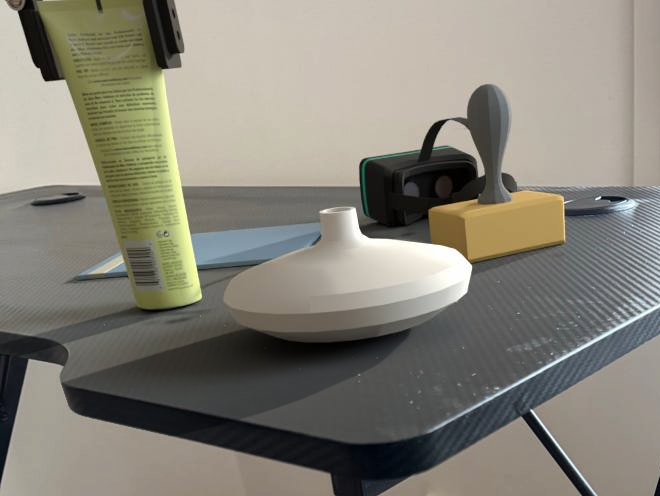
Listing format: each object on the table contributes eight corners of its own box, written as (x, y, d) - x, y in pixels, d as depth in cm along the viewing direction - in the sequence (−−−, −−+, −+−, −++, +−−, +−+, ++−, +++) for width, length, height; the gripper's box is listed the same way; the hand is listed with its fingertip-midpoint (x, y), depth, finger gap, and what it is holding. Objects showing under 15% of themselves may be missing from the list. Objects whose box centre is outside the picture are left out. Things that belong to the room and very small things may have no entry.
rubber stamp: (465, 265, 74) (449, 90, 67) (431, 256, 78) (413, 91, 71) (567, 243, 77) (562, 76, 71) (529, 235, 82) (521, 77, 75)
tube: (181, 292, 74) (108, -2, 64) (223, 296, 72) (154, -10, 61) (123, 310, 71) (35, 1, 60) (165, 314, 68) (80, -7, 58)
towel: (77, 280, 83) (76, 275, 83) (144, 242, 98) (143, 237, 98) (296, 260, 82) (295, 255, 81) (330, 225, 97) (329, 220, 96)
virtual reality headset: (455, 201, 100) (451, 95, 93) (544, 239, 89) (546, 121, 82) (362, 218, 95) (352, 108, 89) (443, 260, 84) (438, 137, 78)
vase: (196, 336, 62) (167, 222, 58) (396, 286, 69) (382, 182, 65) (301, 384, 51) (274, 247, 47) (526, 319, 58) (519, 196, 54)
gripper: (186, -285, 56) (252, 60, 65) (-87, -249, 57) (16, 85, 67) (145, -326, 49) (224, 63, 59) (-162, -283, 51) (-36, 90, 60)
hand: (113, 72), depth 63 cm, fingers closed on tube, 7 cm apart
